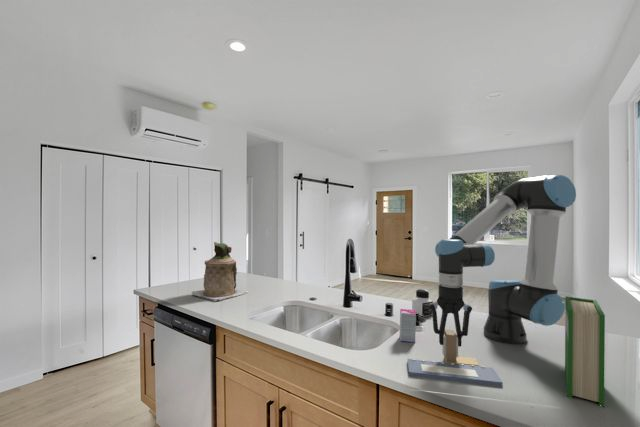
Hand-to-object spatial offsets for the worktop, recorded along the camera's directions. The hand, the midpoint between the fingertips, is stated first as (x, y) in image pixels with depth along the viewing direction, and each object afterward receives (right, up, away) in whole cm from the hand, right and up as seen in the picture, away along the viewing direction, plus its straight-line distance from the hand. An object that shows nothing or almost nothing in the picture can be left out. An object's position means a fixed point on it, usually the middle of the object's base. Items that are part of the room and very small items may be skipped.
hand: (450, 354), depth 106 cm
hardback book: (+32, -3, -15) cm, 36 cm away
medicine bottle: (+7, -3, +51) cm, 51 cm away
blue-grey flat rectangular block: (-3, -3, -8) cm, 9 cm away
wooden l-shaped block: (+3, -2, -1) cm, 4 cm away
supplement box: (-9, -3, +18) cm, 21 cm away
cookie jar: (-105, -2, +86) cm, 135 cm away
